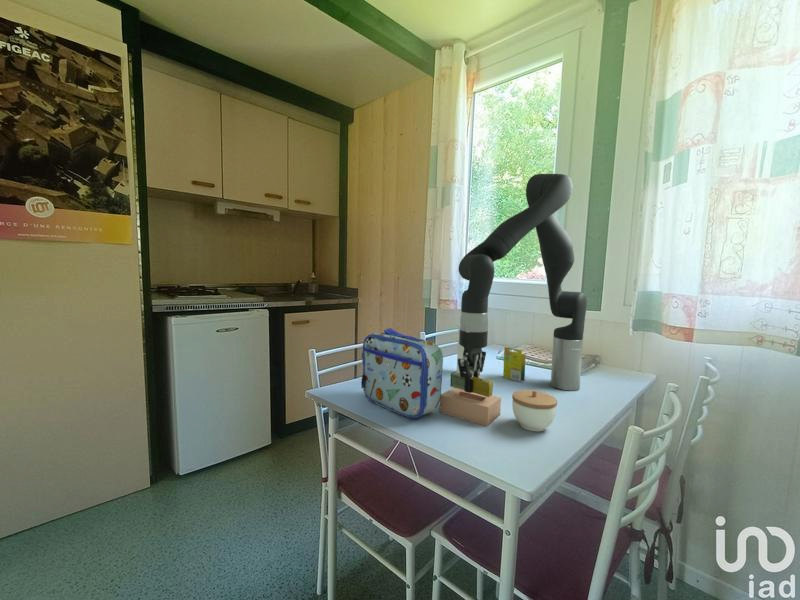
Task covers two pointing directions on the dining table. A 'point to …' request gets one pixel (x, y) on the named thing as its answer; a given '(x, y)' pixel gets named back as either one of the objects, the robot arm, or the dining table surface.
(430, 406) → the lunch box
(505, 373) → the crayon box
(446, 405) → the beige slotted holder
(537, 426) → the lidded jar
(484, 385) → the medication box
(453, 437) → the dining table surface
